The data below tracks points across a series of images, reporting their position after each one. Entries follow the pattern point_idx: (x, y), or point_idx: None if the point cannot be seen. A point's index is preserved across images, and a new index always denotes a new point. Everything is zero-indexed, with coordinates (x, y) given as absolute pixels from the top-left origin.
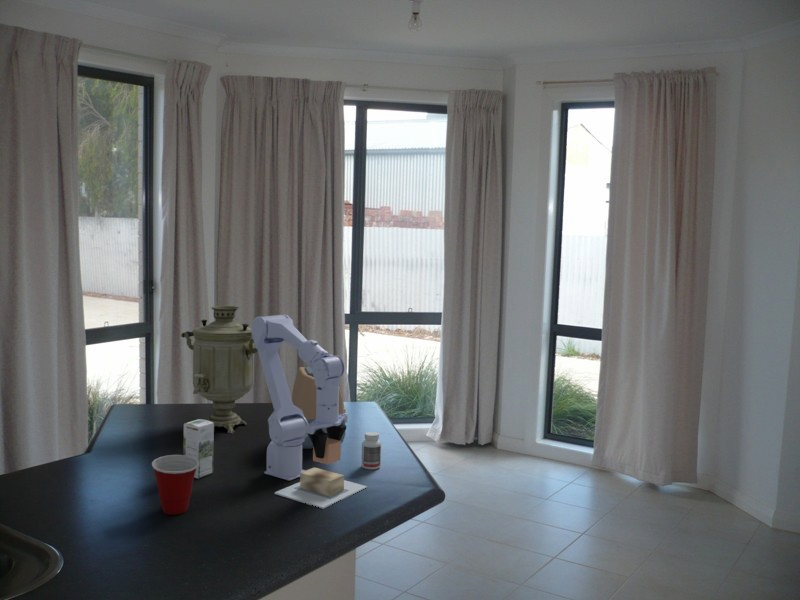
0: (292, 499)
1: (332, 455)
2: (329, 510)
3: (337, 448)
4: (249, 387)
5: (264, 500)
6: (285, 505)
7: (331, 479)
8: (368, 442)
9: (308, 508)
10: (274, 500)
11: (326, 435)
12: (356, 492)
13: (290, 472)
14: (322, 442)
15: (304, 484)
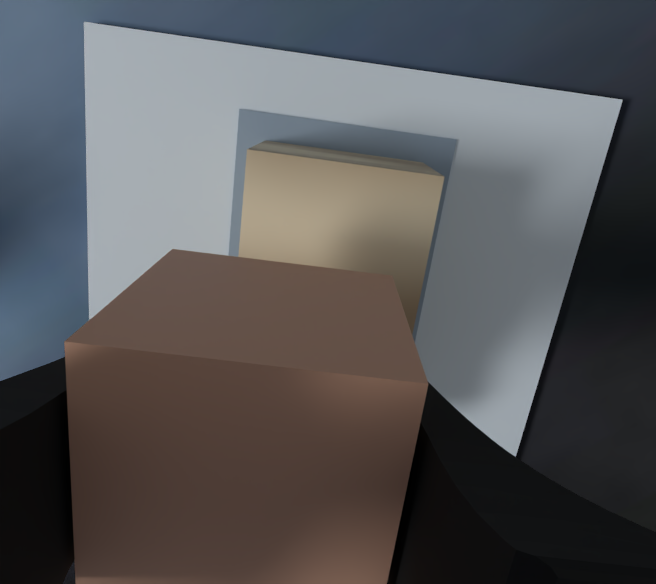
0: (539, 358)
1: (315, 296)
2: (623, 43)
3: (193, 308)
4: None
5: (612, 474)
6: (641, 343)
7: (398, 193)
8: None
9: (639, 195)
10: (591, 432)
11: (607, 553)
12: (228, 43)
13: None
14: (567, 489)
15: None
